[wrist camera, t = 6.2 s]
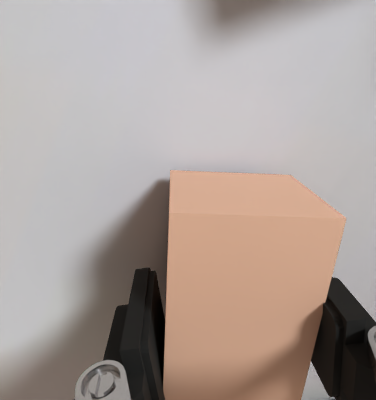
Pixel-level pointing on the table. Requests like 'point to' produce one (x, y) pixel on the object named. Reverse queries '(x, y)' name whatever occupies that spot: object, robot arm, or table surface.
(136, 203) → the table surface
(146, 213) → the table surface
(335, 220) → the card box
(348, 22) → the table surface
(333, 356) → the robot arm
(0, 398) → the table surface
